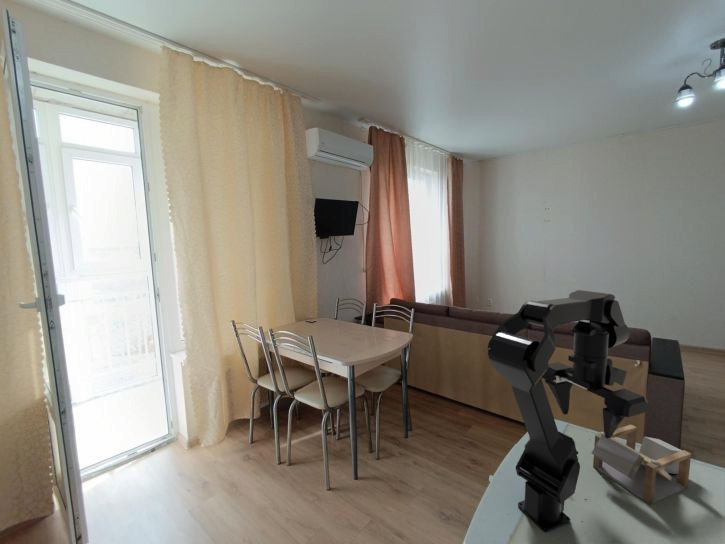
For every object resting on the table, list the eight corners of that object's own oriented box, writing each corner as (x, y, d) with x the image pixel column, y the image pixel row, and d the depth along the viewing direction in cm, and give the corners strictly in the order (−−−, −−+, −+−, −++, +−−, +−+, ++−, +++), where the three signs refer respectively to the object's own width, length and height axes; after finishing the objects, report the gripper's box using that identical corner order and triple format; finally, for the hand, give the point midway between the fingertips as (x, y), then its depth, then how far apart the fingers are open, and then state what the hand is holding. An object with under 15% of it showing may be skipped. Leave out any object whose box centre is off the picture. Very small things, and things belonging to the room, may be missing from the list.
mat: (649, 504, 65) (649, 501, 65) (592, 466, 75) (593, 464, 75) (687, 487, 69) (687, 485, 68) (628, 454, 79) (629, 452, 79)
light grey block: (670, 449, 70) (686, 452, 72) (644, 436, 75) (659, 439, 77) (663, 472, 70) (679, 474, 72) (637, 457, 75) (653, 459, 77)
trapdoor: (629, 477, 64) (643, 452, 65) (589, 451, 72) (602, 429, 72) (659, 501, 68) (672, 477, 69) (618, 475, 76) (630, 453, 77)
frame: (649, 504, 65) (653, 465, 64) (592, 466, 75) (595, 433, 74) (687, 487, 69) (691, 451, 68) (628, 454, 79) (631, 422, 78)
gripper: (670, 363, 61) (663, 442, 63) (575, 335, 79) (572, 397, 80) (629, 372, 57) (623, 456, 59) (539, 341, 75) (536, 406, 77)
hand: (585, 425), depth 69 cm, fingers open, 9 cm apart
